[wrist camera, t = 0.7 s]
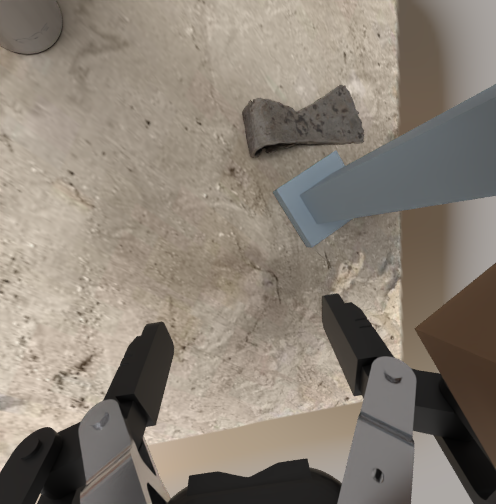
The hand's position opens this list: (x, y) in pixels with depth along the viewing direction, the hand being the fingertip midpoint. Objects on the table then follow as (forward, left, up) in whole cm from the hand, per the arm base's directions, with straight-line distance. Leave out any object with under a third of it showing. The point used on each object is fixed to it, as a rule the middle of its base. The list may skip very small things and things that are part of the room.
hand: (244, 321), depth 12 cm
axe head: (-11, +23, -24) cm, 35 cm away
